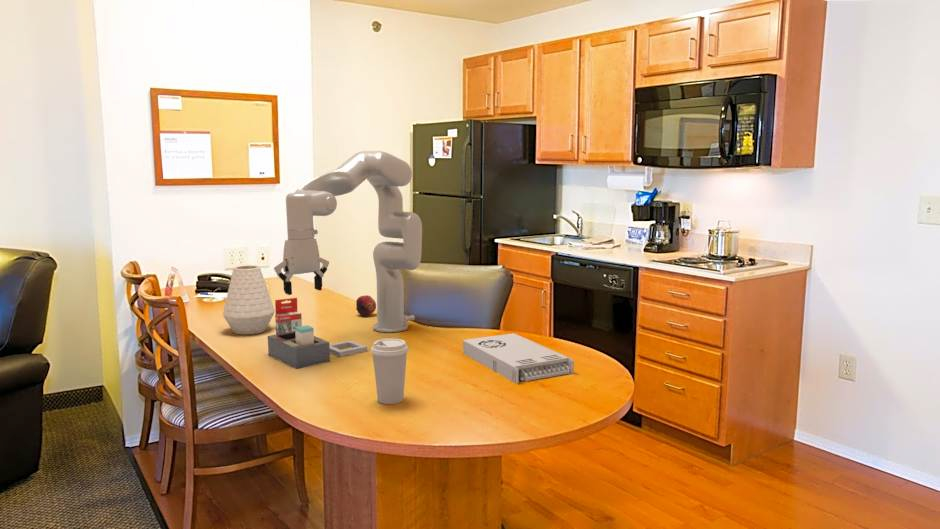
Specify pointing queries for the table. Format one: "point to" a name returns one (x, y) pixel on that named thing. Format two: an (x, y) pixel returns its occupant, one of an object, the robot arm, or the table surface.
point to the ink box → (287, 316)
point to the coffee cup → (390, 369)
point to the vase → (248, 301)
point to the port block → (298, 350)
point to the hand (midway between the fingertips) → (303, 291)
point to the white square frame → (353, 350)
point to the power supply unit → (517, 357)
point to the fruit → (365, 305)
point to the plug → (304, 335)
